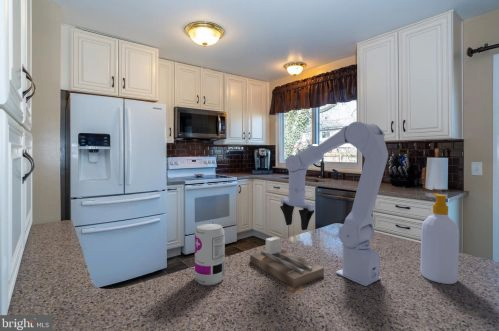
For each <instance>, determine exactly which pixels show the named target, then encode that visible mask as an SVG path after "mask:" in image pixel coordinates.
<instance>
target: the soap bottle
mask: <svg viewBox="0 0 499 331" xmlns="http://www.w3.org/2000/svg"><path fill="white" fill-rule="evenodd" d="M432 196H435V197H436V198H435V199H436V201H435V202H434V203H433V206H432V214H431V215H428V216H427V218H426V219H424V221H423V222H422V224H421V240H420V242H421V243H420V269H419V272H420V274H421V276H422V277H424V279H427V280H429V281H432V282H436V283H439V284H446V285H447V284H448V285H452V284H457V282H458V277H459V276H458V274H459V273H458V272H459V252H460V251H459V250H460V246H459V245H460V230H459V226H458V225H457V223H456V222H455V221H454V220H453V219H452V217H449V206H448V205H447V202H446V195H444V194H440V193H438V192H437V193H435V192H434V193H433V192H432Z"/></svg>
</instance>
